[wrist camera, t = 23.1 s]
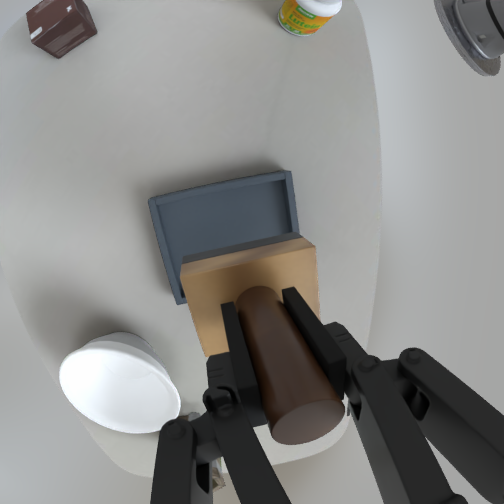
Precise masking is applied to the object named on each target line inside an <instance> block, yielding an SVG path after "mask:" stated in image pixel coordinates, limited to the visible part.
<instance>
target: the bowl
mask: <svg viewBox="0 0 504 504" xmlns="http://www.w3.org/2000/svg"><path fill="white" fill-rule="evenodd" d="M59 380H60V384H61V387H62V390H63V392H64V394H65V395H66V397H67V398H68V400H69V401H70V402H71V403H72V405H73V406H74V407H75V408H76V409H77V410H79V411H80V412H81V413H82V414H83V415H85V416H86V417H88V418H89V419H91V420H92V421H94V422H96V423H98V424H100V425H102V426H105V427H107V428H110V429H113V430H117V431H121V432H127V433H150V432H155V431H158V430H161V428H162V426H163V425H164V424H165V423H166V422H167V421H169V420H171V419H176V418H177V416H178V414H179V411H180V407H181V404H180V397H179V394H178V391H177V389H176V388H175V386H174V385H173V383H172V382H171V380H170V377H169V374H168V371H167V369H166V367H165V365H164V364H163V362H162V361H161V359H160V358H159V357H158V355H157V354H156V353H155V352H154V350H153V349H152V347H151V346H150V345H149V344H148V343H147V342H146V341H145V340H143V339H142V338H140V337H139V336H136V335H134V334H131V333H126V332H115V333H111V334H109V335H105V336H101V337H98V338H95V339H93V340H91V341H89V342H88V343H87V344H85V345H84V346H83V347H82V348H81V349H78V350H75V351H73V352H71V353H70V354H68V355H67V356H66V357H65V358H64V359H63V361H62V363H61V365H60V370H59Z"/></svg>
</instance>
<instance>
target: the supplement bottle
mask: <svg viewBox="0 0 504 504" xmlns="http://www.w3.org/2000/svg"><path fill="white" fill-rule="evenodd" d="M341 6H342V0H286V1H285V2H284V4H283V5H282V7H281V8H280V10H279V12H278V20H279V22H280V24H281V26H282V27H283V28H284V29H285V30H286V31H288V32H290V33H292V34H294V35H298V36H309V35H312V34H313V33H315V32H316V31H317V30H318V29H319V28H320V27H322V26H323V25H324V24H325V23H326V22H327V21H328V20H329V19H331V18H332V17H333V16H334V15H335V14H336V13H338V12H339V10H340V9H341Z"/></svg>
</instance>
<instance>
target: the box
mask: <svg viewBox="0 0 504 504" xmlns="http://www.w3.org/2000/svg"><path fill="white" fill-rule="evenodd" d="M26 15H27V21H28V26H29V31H30V37H31V41H32V44H34V45H36V46H37V47H39V48H41V49H43V50H44V51H46V52H48V53H49V54H51V55H53V56H54V57H56V58H58V59H59V58H61V57H62V56H63V55H65V54H66V53H67V52H69V51H70V50H72V49H73V48H75V47H76V46H78V45H79V44H81V43H82V42H84V41H85V40H87V39H88V38H90V37H92V36H93V35H95V34H97V30H96V27H95V25H94V22H93V20H92V17H91V15H90V12H89V9H88V7H87V5H86V4H85V3H84V1H83V0H43V1H41V2H40V3H39V4H38V5H36V6H35V7H33V8H32V9H31V10H29V11H28V12H27V13H26Z"/></svg>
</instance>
